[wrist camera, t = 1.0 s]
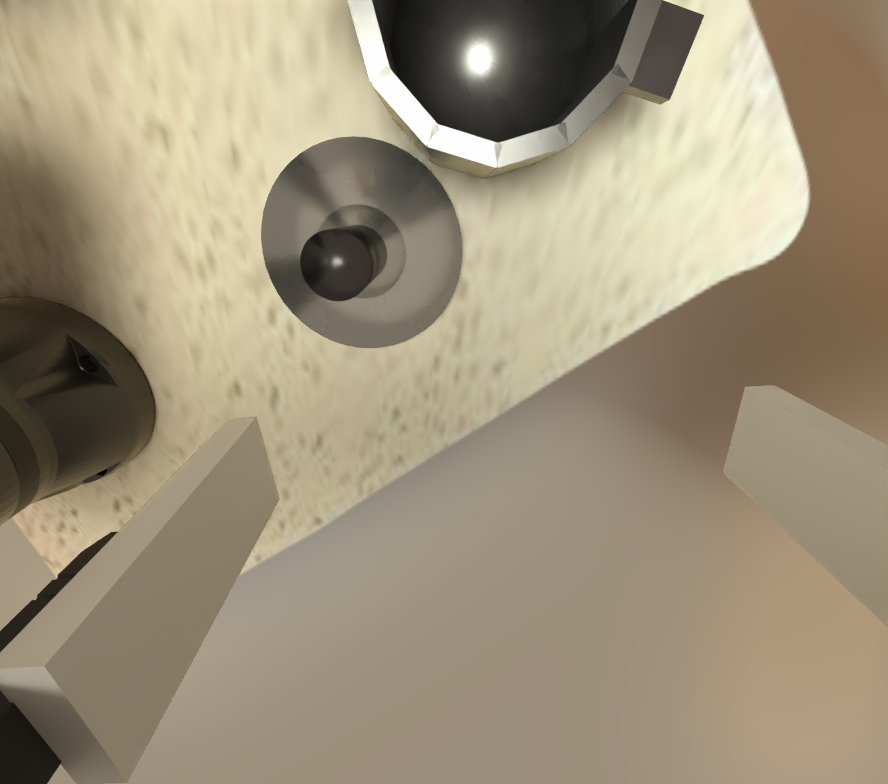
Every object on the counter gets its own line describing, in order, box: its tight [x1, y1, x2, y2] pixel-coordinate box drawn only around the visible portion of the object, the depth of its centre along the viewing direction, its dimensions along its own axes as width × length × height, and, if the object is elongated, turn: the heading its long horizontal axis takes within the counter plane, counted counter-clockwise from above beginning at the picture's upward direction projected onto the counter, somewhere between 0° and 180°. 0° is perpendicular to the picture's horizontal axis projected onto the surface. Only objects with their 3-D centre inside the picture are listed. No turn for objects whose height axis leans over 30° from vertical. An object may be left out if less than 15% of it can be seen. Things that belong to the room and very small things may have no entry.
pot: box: [347, 0, 704, 178], centre depth 21 cm, size 18×13×8 cm
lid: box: [261, 137, 462, 348], centre depth 25 cm, size 14×14×9 cm
